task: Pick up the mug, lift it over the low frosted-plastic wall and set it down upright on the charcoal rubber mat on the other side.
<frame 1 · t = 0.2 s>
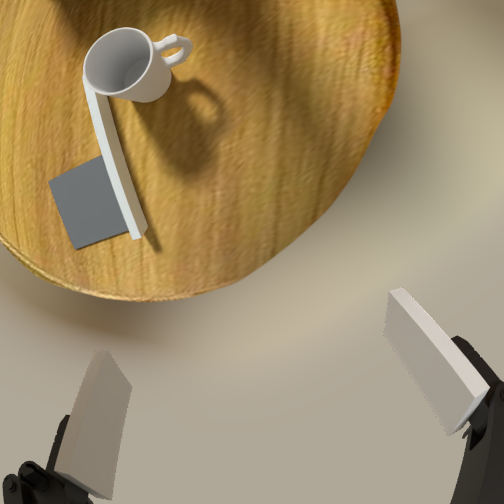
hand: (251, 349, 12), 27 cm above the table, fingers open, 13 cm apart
mug: (159, 74, 29), on the table
mat: (90, 202, 34), on the table
wall: (118, 152, 32), on the table
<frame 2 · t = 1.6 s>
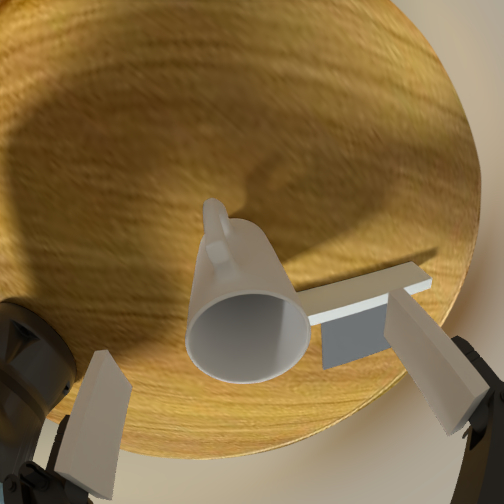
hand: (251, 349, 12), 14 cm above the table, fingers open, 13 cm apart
mug: (228, 233, 25), on the table
mat: (364, 324, 31), on the table
wall: (323, 290, 28), on the table
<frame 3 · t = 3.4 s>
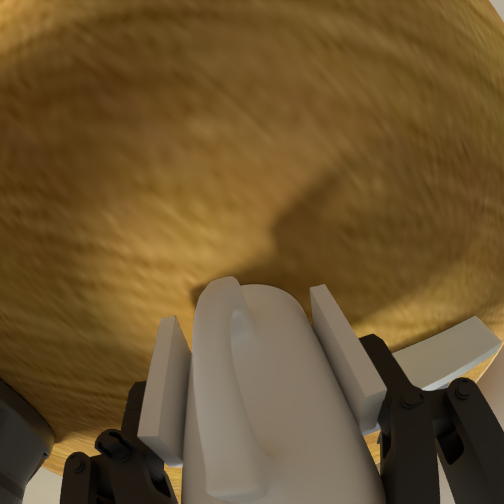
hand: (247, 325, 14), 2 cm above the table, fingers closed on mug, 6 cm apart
mug: (242, 305, 15), on the table, touching gripper
wall: (371, 365, 19), on the table
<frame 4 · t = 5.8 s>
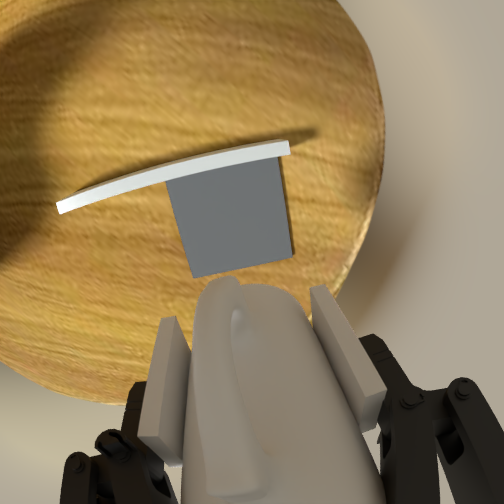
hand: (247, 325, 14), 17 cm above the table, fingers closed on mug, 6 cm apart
mug: (242, 305, 15), point 15 cm above the table, touching gripper
mat: (232, 219, 29), on the table
wall: (168, 168, 26), on the table
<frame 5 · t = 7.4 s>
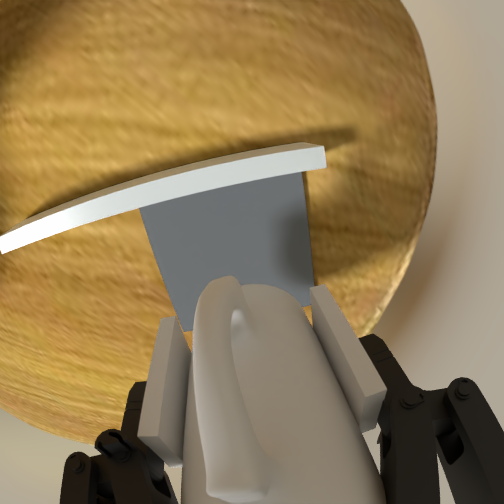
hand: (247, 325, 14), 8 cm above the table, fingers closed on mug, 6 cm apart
mug: (242, 305, 15), point 6 cm above the table, touching gripper
mat: (234, 256, 21), on the table
wall: (141, 185, 18), on the table
when the fingers open (3 cm above the table, at t = 8.7 s): mug stays where it is, resting on mat.
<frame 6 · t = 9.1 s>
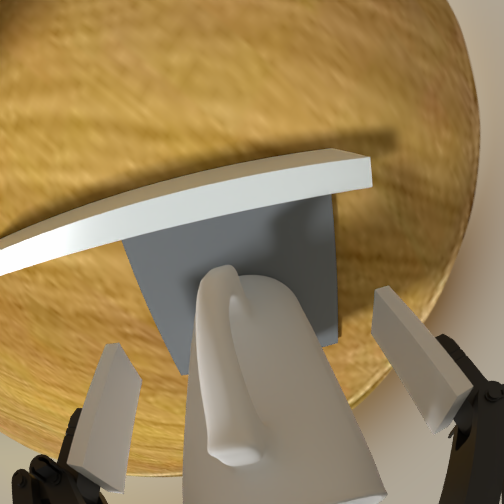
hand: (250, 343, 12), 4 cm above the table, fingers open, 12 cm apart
mug: (239, 295, 16), resting on mat
mat: (242, 292, 16), on the table
wall: (122, 205, 13), on the table
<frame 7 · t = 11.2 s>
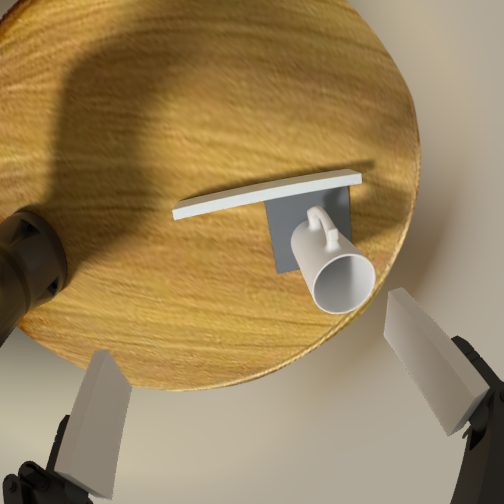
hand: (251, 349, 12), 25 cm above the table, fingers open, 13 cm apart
mug: (310, 228, 37), resting on mat
mat: (311, 227, 37), on the table
wall: (265, 187, 35), on the table
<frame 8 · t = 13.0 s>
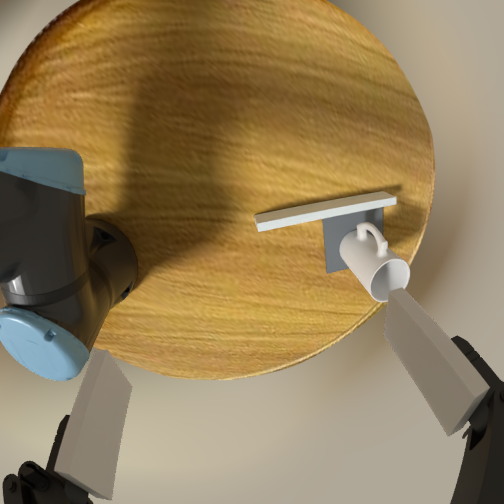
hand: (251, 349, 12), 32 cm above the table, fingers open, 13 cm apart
mug: (354, 237, 46), resting on mat
mat: (354, 236, 46), on the table
wall: (323, 205, 43), on the table
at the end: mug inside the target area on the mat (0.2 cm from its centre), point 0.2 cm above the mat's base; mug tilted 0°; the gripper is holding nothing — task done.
